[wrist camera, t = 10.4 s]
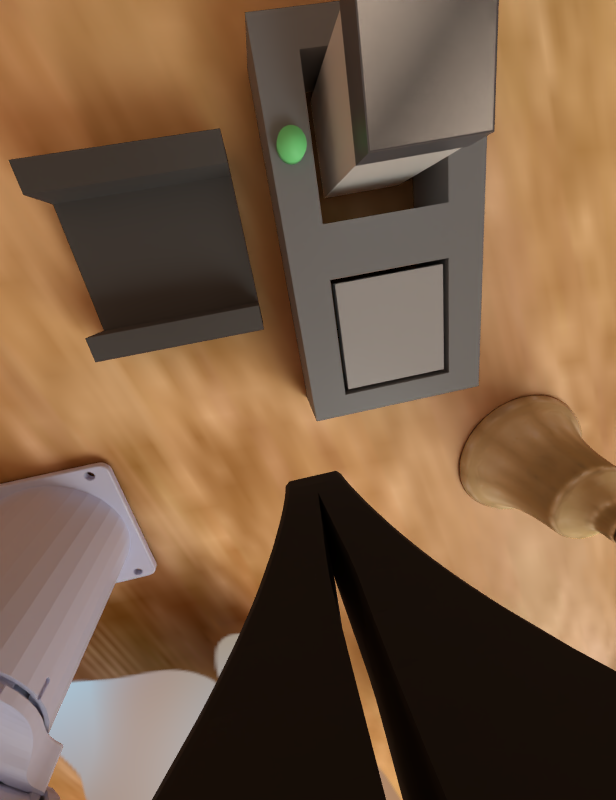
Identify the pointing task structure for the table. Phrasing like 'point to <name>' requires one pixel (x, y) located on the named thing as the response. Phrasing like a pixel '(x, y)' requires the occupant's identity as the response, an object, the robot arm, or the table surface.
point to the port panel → (366, 244)
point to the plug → (402, 89)
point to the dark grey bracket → (152, 239)
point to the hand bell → (541, 468)
